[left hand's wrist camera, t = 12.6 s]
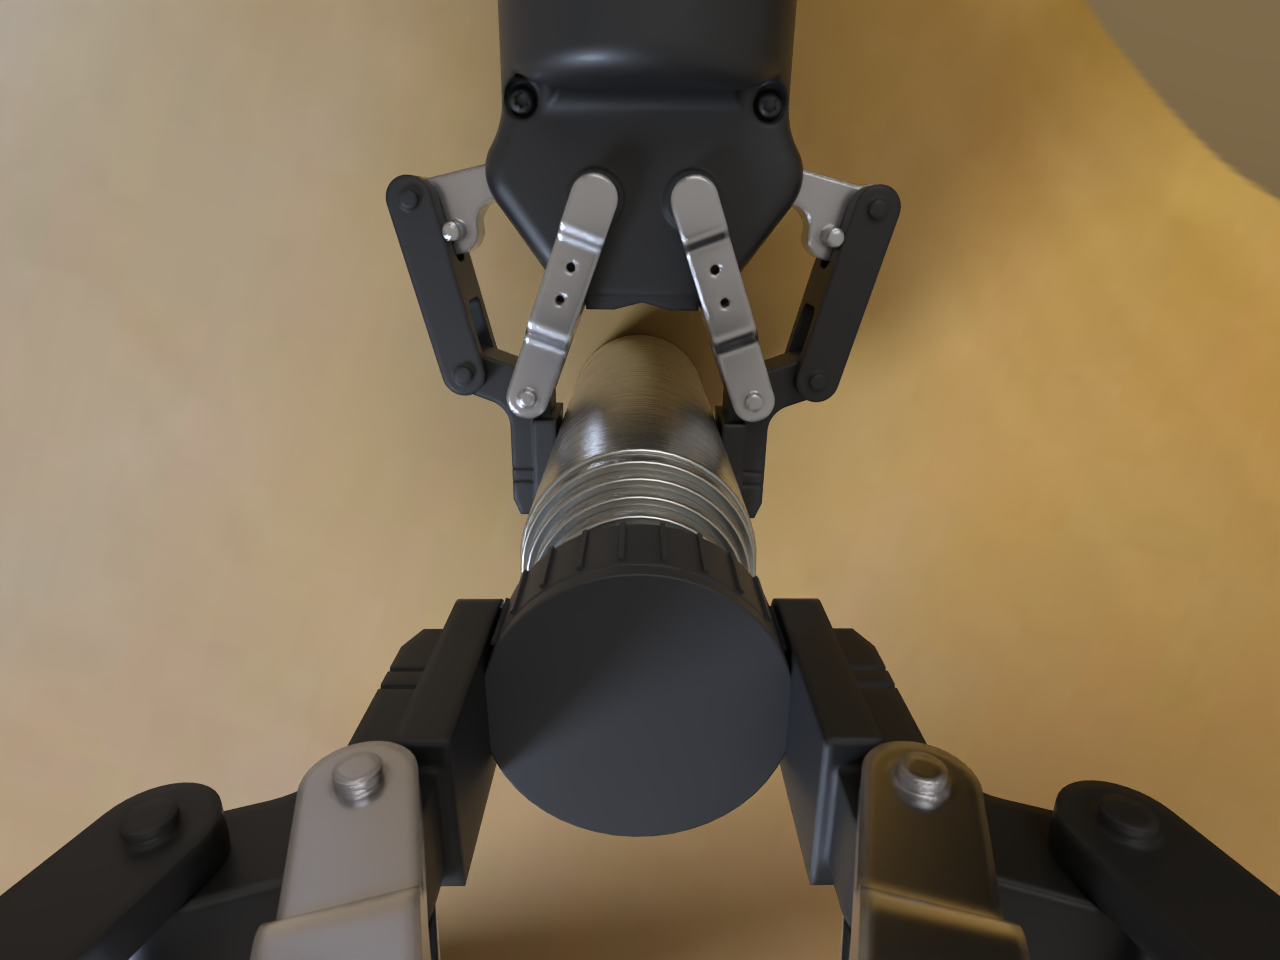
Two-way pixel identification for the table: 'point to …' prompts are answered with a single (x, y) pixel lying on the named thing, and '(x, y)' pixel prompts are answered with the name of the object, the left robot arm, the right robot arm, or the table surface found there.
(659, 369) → the bottle
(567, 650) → the cap
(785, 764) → the left robot arm
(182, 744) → the table surface
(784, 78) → the right robot arm
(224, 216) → the table surface
